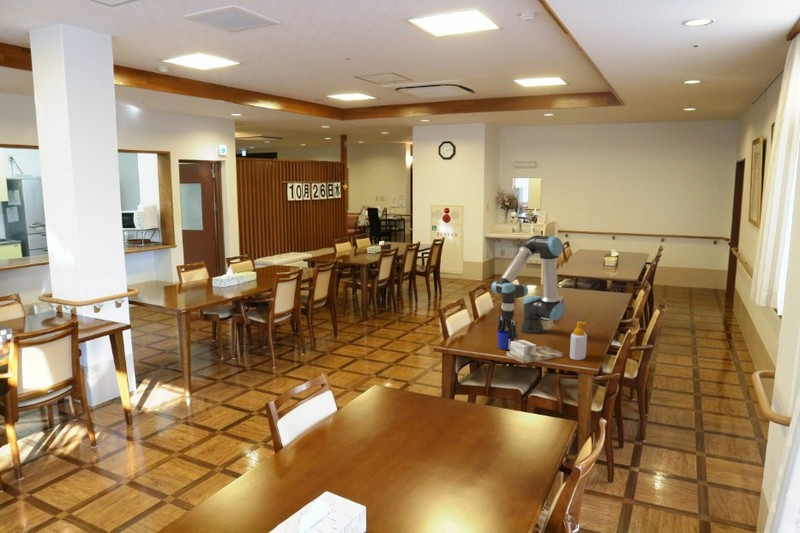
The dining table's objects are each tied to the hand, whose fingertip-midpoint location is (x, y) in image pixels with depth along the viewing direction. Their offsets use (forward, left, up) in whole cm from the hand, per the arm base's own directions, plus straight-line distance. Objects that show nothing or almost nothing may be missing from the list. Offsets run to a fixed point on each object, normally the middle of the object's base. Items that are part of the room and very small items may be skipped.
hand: (506, 347), depth 326 cm
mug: (0, +1, -1) cm, 1 cm away
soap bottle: (-26, +31, -1) cm, 41 cm away
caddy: (-5, +19, -1) cm, 20 cm away
